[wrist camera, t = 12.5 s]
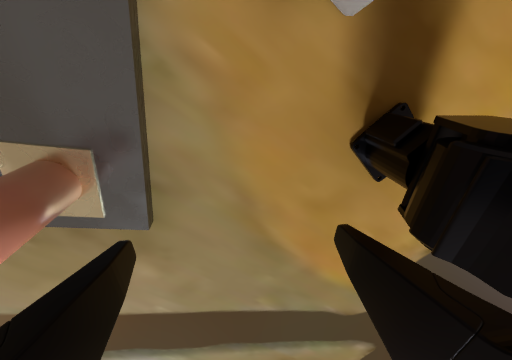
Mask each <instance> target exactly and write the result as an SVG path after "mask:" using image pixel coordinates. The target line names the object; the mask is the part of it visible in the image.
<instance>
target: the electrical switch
mask: <svg viewBox="0 0 512 360" xmlns="http://www.w3.org/2000/svg"><path fill="white" fill-rule="evenodd" d="M331 1H332V2H333V3H334V5H335V6H336V7H337V8H338V9H339V10H340V11H341V12H342V13H343V14H344V15H345V16H353V15H355V14H356V13H357V12H359V11H360V10H361V9H363V8H364V7H366V6H367V5H368V4H370V3H371V2H372V1H374V0H331Z"/></svg>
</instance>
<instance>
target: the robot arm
mask: <svg viewBox="0 0 512 360" xmlns="http://www.w3.org/2000/svg"><path fill="white" fill-rule="evenodd" d="M401 107H402V109H401ZM433 123H435V124H430V123H426V122H423V121H422V120H419V119H414V117H413V115H412V113H411V111H410V109H409V107H408V105H407V104H406V103H402V102H401V103H399V104H397V105H396V106H395V107H394V108H392V109H391V110H390V111H389V112H388V113H386V114H385V115H383V116H382V117H381V118H380V119H379V120H378V121H376V122H375V123H374V124H373V125H372V126H371V127H369V128H368V129H367V130H366V131H365V132H364V133H363V134H362V135H361V136H359V137H358V138H357V139H356V140H355V141H354V142H352V144H351V146H350V147H351V149H352V151H353V152H354V153H355V155H356V156H357V157H358V159H359V160H360V161H361V163H362V164H363V165H364V167H365V168H366V170H367V171H368V172H369V174H370V175H371V176H372V178H373V179H374V180H375V181H377V182H380V181H382V180H383V179H384V178H386V177H388V178H390V179H391V180H393V181H395V182H396V183H398V184H399V185H401V186H402V187H404V188H406V189H407V191H406V194H405V196H404V198H403V201H402V203H401V204H400V205H399V207H398V211H399V212H400V214H401V215H402V217H403V218H404V220H405V221H406V223H407V224H408V226H409V227H410V229H409V232H410V233H411V234H412V235H413V236H414V237H415V238H416V239H417V240H418V241H420V242H421V243H422V244H423V245H424V246H425V247H427V248H428V249H430V250H431V251H432V252H431V253H432V255H433V256H435V257H438V258H441V259H443V260H445V261H448V262H451V263H453V264H454V265H456V266H458V267H460V268H462V269H464V270H466V271H468V272H470V273H471V274H473V275H474V276H476V277H478V278H479V279H481V280H482V281H484V282H485V283H487V284H488V285H490V286H491V287H493V288H494V289H496V290H497V291H499V292H500V293H502V294H503V295H505V296H508V297H510V298H512V119H511V118H503V117H495V116H436V117H435V120H434V122H433ZM355 145H357V146H356V147H355ZM378 177H379V178H378ZM334 242H335V245H336V248H337V250H338V253H339V255H340V258H341V260H342V262H343V265H344V267H345V270H346V272H347V274H348V276H349V278H350V280H351V282H352V284H353V286H354V288H355V290H356V292H357V294H358V296H359V297H360V299H361V301H362V303H363V305H364V307H365V309H366V311H367V313H368V314H369V317H370V318H371V320H372V322H373V324H374V326H375V328H376V330H377V332H378V334H379V336H380V337H381V339H382V341H383V343H384V345H385V347H386V349H387V351H388V353H389V354H390V357H391V358H392V360H512V314H511V313H509V312H507V311H505V310H503V309H501V308H499V307H497V306H495V305H493V304H491V303H489V302H487V301H485V300H483V299H481V298H479V297H477V296H475V295H473V294H471V293H469V292H467V291H465V290H464V289H462V288H460V287H458V286H456V285H454V284H453V283H451V282H449V281H447V280H445V279H443V278H442V277H440V276H438V275H436V274H435V273H432V272H431V271H429V270H427V269H426V268H424V267H422V266H420V265H419V264H417V263H415V262H413V261H412V260H410V259H408V258H406V257H405V256H403V255H401V254H399V253H397V252H396V251H394V250H392V249H390V248H389V247H387V246H385V245H383V244H381V243H380V242H378V241H376V240H374V239H373V238H371V237H369V236H367V235H366V234H364V233H362V232H360V231H358V230H357V229H355V228H353V227H351V226H350V225H348V224H341V225H338V226H337V229H336V233H335V237H334ZM135 261H136V253H135V250H134V247H133V245H132V242H131V241H129V240H125V241H119V242H117V243H115V244H114V245H113V246H111V247H110V248H109V249H107V250H106V251H104V252H103V253H102V254H100V255H99V256H98V257H96V258H95V259H93V260H92V261H91V262H89V263H88V264H86V265H85V266H84V267H82V268H81V269H80V270H78V271H77V272H75V273H74V274H73V275H71V276H70V277H69V278H67V279H66V280H64V281H63V282H62V283H60V284H59V285H57V286H56V287H55V288H53V289H52V290H51V291H49V292H48V293H46V294H45V295H44V296H42V297H41V298H40V299H38V300H37V301H35V302H34V303H33V304H31V305H30V306H28V307H27V308H26V309H24V310H23V311H22V312H20V313H19V314H17V315H16V316H15V317H13V318H12V319H11V321H8V322H6V323H5V324H3V325H2V326H1V327H0V360H101V357H102V355H103V352H104V350H105V347H106V345H107V342H108V340H109V337H110V335H111V332H112V330H113V327H114V325H115V322H116V320H117V317H118V315H119V312H120V310H121V307H122V305H123V302H124V299H125V296H126V293H127V290H128V286H129V283H130V279H131V276H132V272H133V268H134V265H135Z"/></svg>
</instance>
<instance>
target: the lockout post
mask: <svg viewBox="0 0 512 360" xmlns="http://www.w3.org/2000/svg"><path fill="white" fill-rule="evenodd" d="M81 192H82V187H81V183H80V181H79V179H78V178H77V177H76V175H75V174H74V173H73V172H72V171H70V170H69V169H68V168H66V167H64V166H62V165H60V164H58V163H55V162H51V161H35V162H32V163H29V164H27V165H25V166H23V167H20V168H18V169H16V170H14V171H12V172H9V173H7V174H5V175H3V176H1V177H0V264H1V263H2V262H3V261H5V260H6V259H7V258H8V257H9V256H11V255H12V254H13V253H14V252H15V251H17V250H18V249H19V248H20V247H21V246H22V245H24V244H25V243H26V242H27V241H28V240H30V239H31V238H32V237H33V236H34V235H36V234H37V233H38V232H39V231H40V230H41V229H43V228H44V227H45V226H46V225H47V224H49V223H50V222H51V221H52V220H53V219H55V218H56V217H57V216H58V215H59V214H61V213H62V212H63V211H64V210H65V209H66V208H68V207H69V206H70V205H71V204H72V203H74V202H75V201H76V200H77V199H78V198H79V197H80V195H81Z"/></svg>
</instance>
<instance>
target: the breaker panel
mask: <svg viewBox="0 0 512 360" xmlns="http://www.w3.org/2000/svg"><path fill="white" fill-rule="evenodd" d="M35 161H51V162H55V163H58V164H60V165H62V166H64V167H66V168H68V169H69V170H70V171H72V172H73V173H74V174H75V175H76V177H77V178H78V179H79V181H80V183H81V187H82V192H81V195H80V197H79V198H78V199H77V200H76V201H75V202H74V203H72V204H71V205H70V206H69V207H68V208H66V209H65V210H64V211H63V212H62V213H61V214H59V215H58V216H57V217H56V218H55V219H53V220H52V221H51V222H50V223H49V224H47V225H46V226H45V227H70V228H100V229H131V230H149V229H150V227H151V225H152V223H153V211H152V198H151V185H150V172H149V159H148V146H147V133H146V120H145V107H144V94H143V81H142V68H141V55H140V42H139V29H138V16H137V3H136V0H0V177H1V176H3V175H5V174H7V173H9V172H12V171H14V170H16V169H18V168H20V167H23V166H25V165H27V164H29V163H32V162H35Z"/></svg>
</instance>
